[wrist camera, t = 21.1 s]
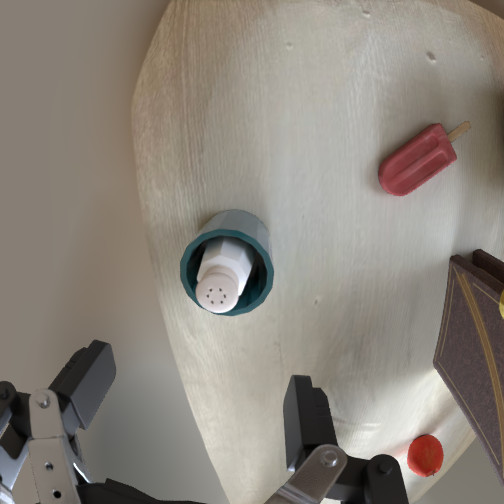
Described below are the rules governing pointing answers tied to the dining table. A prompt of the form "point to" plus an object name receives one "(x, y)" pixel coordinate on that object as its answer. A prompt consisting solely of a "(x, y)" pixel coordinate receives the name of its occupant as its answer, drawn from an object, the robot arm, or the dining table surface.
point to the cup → (262, 268)
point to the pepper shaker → (224, 272)
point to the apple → (425, 456)
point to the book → (476, 348)
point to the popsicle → (419, 159)
